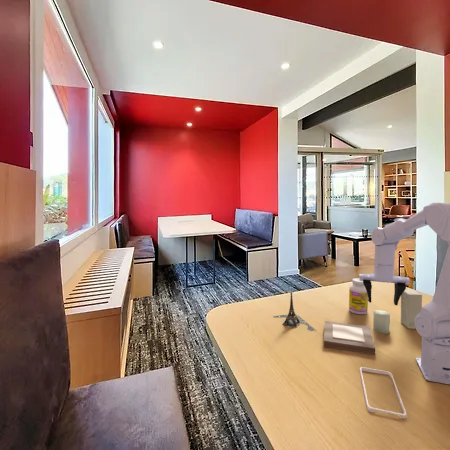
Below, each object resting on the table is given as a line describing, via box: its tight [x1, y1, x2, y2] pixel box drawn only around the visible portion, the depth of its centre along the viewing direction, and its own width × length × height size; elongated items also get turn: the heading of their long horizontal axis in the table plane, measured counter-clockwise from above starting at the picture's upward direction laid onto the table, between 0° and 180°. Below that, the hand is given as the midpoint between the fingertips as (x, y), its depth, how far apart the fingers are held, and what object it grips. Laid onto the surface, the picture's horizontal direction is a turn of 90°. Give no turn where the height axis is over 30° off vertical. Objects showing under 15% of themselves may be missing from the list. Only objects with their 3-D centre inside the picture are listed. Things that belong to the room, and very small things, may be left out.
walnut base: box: [323, 320, 376, 356], centre depth 89 cm, size 14×14×2 cm
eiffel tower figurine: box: [272, 289, 316, 332], centre depth 100 cm, size 15×10×13 cm
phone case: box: [359, 366, 407, 420], centre depth 65 cm, size 7×1×15 cm
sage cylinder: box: [372, 309, 391, 335], centre depth 94 cm, size 5×5×6 cm
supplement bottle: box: [348, 277, 369, 315], centre depth 108 cm, size 7×7×13 cm
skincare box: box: [400, 288, 423, 330], centre depth 96 cm, size 6×4×12 cm
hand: (382, 302), depth 93 cm, fingers open, 7 cm apart
